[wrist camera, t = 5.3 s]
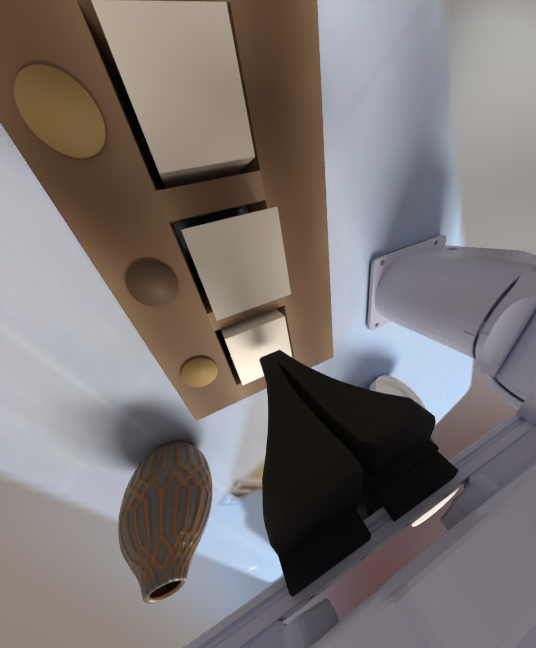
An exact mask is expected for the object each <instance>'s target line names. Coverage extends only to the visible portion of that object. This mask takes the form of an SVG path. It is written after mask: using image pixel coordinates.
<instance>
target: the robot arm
mask: <svg viewBox="0 0 536 648" xmlns="http://www.w3.org/2000/svg"><path fill="white" fill-rule="evenodd" d="M445 242H446V236H445V235H440V236H437V237H435V238H432V239H429V240H426V241H423V242H420V243H418V244H415V245H412V246H409V247H406V248H403V249H400V250H398V251H395V252H392V253H389V254H386V255H383V256H381V257H378V258H375V259H374V260H373V261H372V263H371V275H370V291H369V307H368V322H367V328H368V329H369V330H374V329H376V328H378V327H380V326H383V325H385V324H387V323H389V322H391V321H392V322H394V323H396V324H399V325H401V326H403V327H405V328H407V329H410V330H412V331H414V332H416V333H419V334H421V335H423V336H425V337H428V338H430V339H432V340H434V341H436V342H439V343H441V344H443V345H445V346H448V347H450V348H452V349H454V350H456V351H459V352H461V353H463V354H465V355H468V356H470V357H472V358H474V359H476V361H475V363H474V366H473V368H475V369H477V370H479V371H482V372H483V373H485V374H487V380H488V382H489V384H490V385H491V387H492V388H493V389H494V391H496V393H497V394H498V395H499V396H501V397H502V398H503V399H504V400H505V401H507V402H508V403H509V404H510V405H512V406H513V407H515V408H516V409H517V410H516V412H515V413H516V414H515V415H513V416H511V417H510V418H508V419H507V420H506V421H504V422H503V423H501V424H500V425H498V426H497V427H496V428H494V429H493V430H491V431H490V432H489V433H487V434H486V435H484V436H483V437H481V438H480V439H479V440H478V441H476V442H474V443H473V444H471V445H470V446H469V447H467V448H466V449H464V450H463V451H462V452H460V453H459V454H457V455H456V456H455V457H453V458H452V459H450V460H449V461H448V460H447V459H446V458H445V457H443V456H442V455H441V454H440V453H439V452H438V451H437V450H438V449H439V448H438V446H437V445H436V444H435V443H433V442H432V441H431V440H430V437H431V434H432V432H433V429H434V427H435V423H436V422H435V417H434V415H432V414H431V413H430V412H428V411H427V410H426V409H425V408H423V407H422V406H421V405H420V404H418V403H417V402H415V401H414V400H412V399H411V398H408V397H402V396H397V395H391V394H385V393H381V392H376V391H372V390H368V389H364V388H361V387H357V386H354V385H351V384H347V383H344V382H341V381H339V380H336V379H333V378H331V377H329V376H326V375H324V374H322V373H320V372H318V371H315V370H313V369H311V368H310V367H308V366H306V365H304V364H302V363H300V362H299V361H297V360H295V359H294V358H292V357H290V356H289V355H287V354H286V353H284V352H283V351H281V350H277V351H275V352H273V353H270V354H268V355H265V356H263V357H261V358H260V359H259V361H260V364H261V367H262V371H263V374H264V377H265V381H266V384H267V394H268V436H267V447H266V457H265V464H264V471H263V478H262V485H263V516H264V523H265V527H266V531H267V534H268V538H269V541H270V545H271V546H272V548H273V549H274V551H275V552H276V553H277V555H278V557H279V560H280V564H281V567H282V571H283V574H284V577H283V578H281V579H280V580H279V581H277V582H276V583H274V584H273V585H271V586H270V587H268V588H267V589H266V590H264V591H263V592H261V593H260V594H258V595H257V596H256V597H254V598H253V599H251V600H250V601H249V602H247V603H246V604H244V605H243V606H241V607H240V608H239V609H237V610H236V611H234V612H233V613H232V614H230V615H229V616H227V617H226V618H224V619H223V620H222V621H220V622H219V623H217V624H216V625H214V626H213V627H212V628H210V629H209V630H207V631H206V632H205V633H203V634H202V635H200V636H199V637H198V638H196V639H195V640H193V641H192V642H190V643H189V644H188V645H186V646H185V647H183V648H536V255H534V254H531V253H528V252H524V251H518V250H505V249H489V248H475V247H460V246H445ZM462 485H464V490H463V491H462V492H461V493H460V494H459V495H457V496H456V497H455V498H454V499H453V501H452V504H451V506H450V507H449V509H448V510H447V511H446V513H445V514H444V515H443V516H442V517H441V518H440V519H441V522H442V523H443V524H444V526H445V527H446V528H447V529H448V531H447V532H445V533H444V534H443V535H442V536H440V537H439V538H438V539H437V540H435V541H434V542H433V543H432V544H431V545H429V546H428V547H427V548H426V549H424V550H423V551H422V552H421V553H420V554H418V555H417V556H416V557H415V558H414V559H412V560H411V561H410V562H409V563H408V564H406V565H405V566H404V567H403V568H402V569H400V570H399V571H398V572H397V573H396V574H395V575H393V576H392V577H391V578H390V579H389V580H388V581H386V582H385V583H384V584H383V585H382V586H380V587H379V588H378V589H377V590H376V591H375V592H373V593H372V594H371V595H370V596H369V597H368V598H366V599H365V600H364V601H363V602H362V603H361V604H359V605H358V606H357V607H356V608H355V609H354V610H352V611H351V612H350V613H349V614H348V615H347V616H346V617H344V618H343V619H342V620H341V621H340V622H339V619H338V617H337V614H336V612H335V609H334V607H333V606H332V605H331V603H330V600H328V599H327V598H326V599H324V600H323V601H321V602H319V603H318V604H316V605H315V606H313V607H311V608H310V609H309V610H307V611H305V612H304V613H302V614H300V615H299V616H298V617H296V618H295V619H294V620H292V621H291V622H290V623H289V624H288V625H287V624H285V623H283V621H285V620H286V619H287V618H289V617H290V616H291V615H293V614H294V613H295V612H297V611H298V610H299V609H300V608H302V607H303V606H305V605H306V604H307V603H309V602H310V601H311V600H312V599H314V598H315V597H316V596H318V595H319V594H320V593H322V592H323V591H324V590H326V589H327V588H328V587H329V586H331V585H332V584H334V583H335V582H336V581H337V580H339V579H340V578H341V577H343V576H344V575H345V574H347V573H348V572H349V571H351V570H352V569H353V568H355V567H356V566H357V565H359V564H360V563H361V562H362V561H364V560H365V559H366V558H368V557H369V556H370V555H371V554H373V553H374V552H376V551H377V550H378V549H379V548H381V547H382V546H384V545H385V544H386V543H387V542H389V541H390V540H391V539H393V538H394V537H395V536H397V535H398V534H399V533H400V532H402V531H403V530H405V529H406V528H407V527H409V526H410V525H411V524H413V523H414V522H415V521H416V520H418V519H419V518H420V517H422V516H423V515H424V514H426V513H427V512H428V511H430V510H431V509H432V508H434V507H435V506H436V505H438V504H439V503H440V502H441V501H443V500H444V499H445V498H447V497H448V496H449V495H451V494H452V493H453V492H455V491H456V490H457V489H459V488H460V487H461V486H462Z"/></svg>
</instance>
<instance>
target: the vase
mask: <svg viewBox="0 0 536 648" xmlns="http://www.w3.org/2000/svg"><path fill="white" fill-rule="evenodd" d="M211 502H212V479H211V473H210V468H209V466H208V463H207V461H206V459H205V457H204V455H203V454H202V452H201V451H200V450H199V449H197V448H196V447H195V446H193V445H191V444H188V443H185V442H173V443H169V444H166V445H163V446H161V447H159V448H158V449H156V450H155V451H154V452H152V453H151V454H150V455H148V456H147V457H146V458H145V459H144V460H143V461H142V463H141V464H140V465H139V466H138V468H137V469H136V471H135V472H134V474H133V476H132V477H131V479H130V481H129V483H128V486H127V488H126V491H125V494H124V497H123V500H122V504H121V508H120V514H119V523H118V532H119V542H120V548H121V552H122V554H123V556H124V558H125V560H126V561H127V563H128V565H129V567H130V569H131V570H132V572H133V573H134V575H135V576H136V578H137V580H138V582H139V585H140V588H141V592H142V597H143V601H144V602H145V603H154V602H158V601H160V600H163V599H165V598H167V597H168V596H170V595H172V594H174V593H175V592H177V591H178V590H179V589H180V588H181V587H182V586H183V585H184V583H185V581H186V578H187V574H188V570H189V566H190V563H191V560H192V557H193V555H194V552H195V550H196V548H197V546H198V543H199V541H200V539H201V536H202V534H203V532H204V529H205V527H206V524H207V521H208V518H209V514H210V509H211Z"/></svg>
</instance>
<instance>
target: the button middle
mask: <svg viewBox="0 0 536 648" xmlns="http://www.w3.org/2000/svg"><path fill="white" fill-rule="evenodd" d="M181 231H182V234H183V236H184V239H185V241H186V244H187V246H188V249H189V251H190V254H191V256H192V259H193V261H194V264H195V267H196V269H197V272H198V274H199V277H200V279H201V282H202V284H203V287H204V289H205V292H206V294H207V297H208V300H209V302H210V305H211V307H212V310H213V312H214V315H215V317H216V320H217V321H218V320H221V319H224V318H227V317H229V316H232V315H235V314H238V313H240V312H243V311H246V310H249V309H252V308H254V307H257V306H260V305H263V304H265V303H268V302H271V301H274V300H277V299H279V298H282V297H285V296H288V295H290V294H291V290H290V284H289V277H288V271H287V264H286V258H285V252H284V245H283V239H282V232H281V226H280V220H279V213H278V207H273V208H269V209H264V210H260V211H256V212H251V213H247V214H243V215H239V216H235V217H231V218H226V219H222V220H218V221H214V222H210V223H206V224H202V225H198V226H193V227H189V228H185V229H182V230H181Z"/></svg>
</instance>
